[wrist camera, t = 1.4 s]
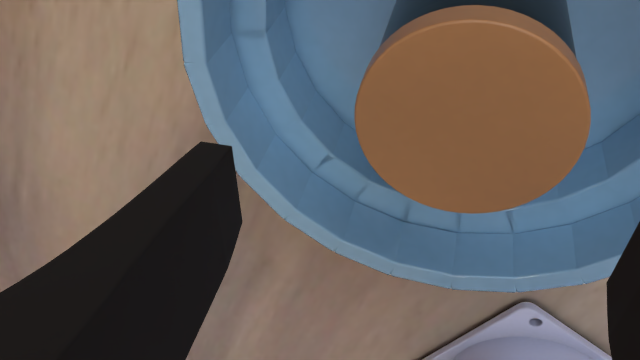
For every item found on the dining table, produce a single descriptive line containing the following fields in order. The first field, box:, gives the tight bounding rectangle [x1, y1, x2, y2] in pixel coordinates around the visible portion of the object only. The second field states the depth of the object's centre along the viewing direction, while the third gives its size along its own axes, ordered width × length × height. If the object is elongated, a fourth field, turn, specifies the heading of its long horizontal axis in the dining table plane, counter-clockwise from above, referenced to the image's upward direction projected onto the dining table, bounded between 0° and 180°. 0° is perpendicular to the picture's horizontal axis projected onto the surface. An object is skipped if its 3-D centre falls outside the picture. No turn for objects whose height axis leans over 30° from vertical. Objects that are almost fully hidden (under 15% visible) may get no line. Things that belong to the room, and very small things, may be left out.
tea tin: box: [354, 0, 591, 214], centre depth 15 cm, size 5×5×6 cm
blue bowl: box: [177, 0, 640, 293], centre depth 16 cm, size 15×15×4 cm
